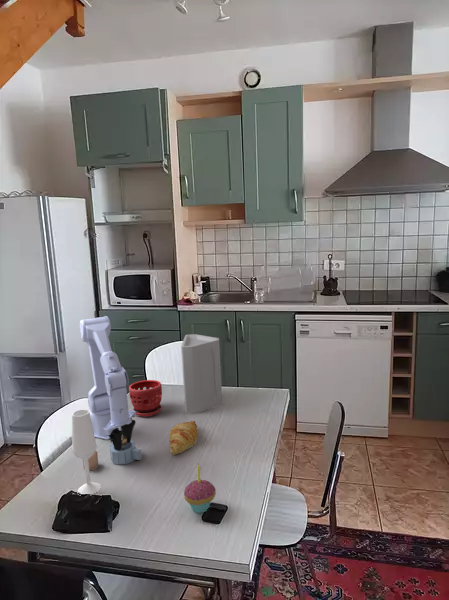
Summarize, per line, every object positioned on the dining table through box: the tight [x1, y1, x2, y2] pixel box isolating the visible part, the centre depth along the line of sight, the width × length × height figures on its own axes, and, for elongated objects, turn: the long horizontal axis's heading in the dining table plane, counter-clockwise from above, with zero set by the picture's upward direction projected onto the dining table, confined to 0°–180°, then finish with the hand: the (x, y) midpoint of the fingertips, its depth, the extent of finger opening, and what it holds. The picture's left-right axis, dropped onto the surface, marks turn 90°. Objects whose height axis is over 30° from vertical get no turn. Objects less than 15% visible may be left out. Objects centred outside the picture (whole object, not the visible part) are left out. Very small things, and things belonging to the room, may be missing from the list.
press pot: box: [109, 440, 142, 466], centre depth 145 cm, size 11×8×4 cm
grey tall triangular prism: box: [180, 333, 223, 415], centre depth 184 cm, size 19×15×28 cm
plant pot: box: [128, 379, 163, 418], centre depth 180 cm, size 13×13×12 cm
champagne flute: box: [71, 408, 102, 494], centre depth 127 cm, size 7×7×24 cm
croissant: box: [168, 420, 199, 456], centre depth 154 cm, size 21×10×8 cm, turn 166°
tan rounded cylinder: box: [82, 450, 99, 471], centre depth 141 cm, size 5×5×4 cm
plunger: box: [121, 436, 127, 451], centre depth 145 cm, size 5×5×6 cm
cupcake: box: [183, 462, 217, 514], centre depth 118 cm, size 9×8×12 cm
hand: (122, 445), depth 145 cm, fingers open, 4 cm apart
